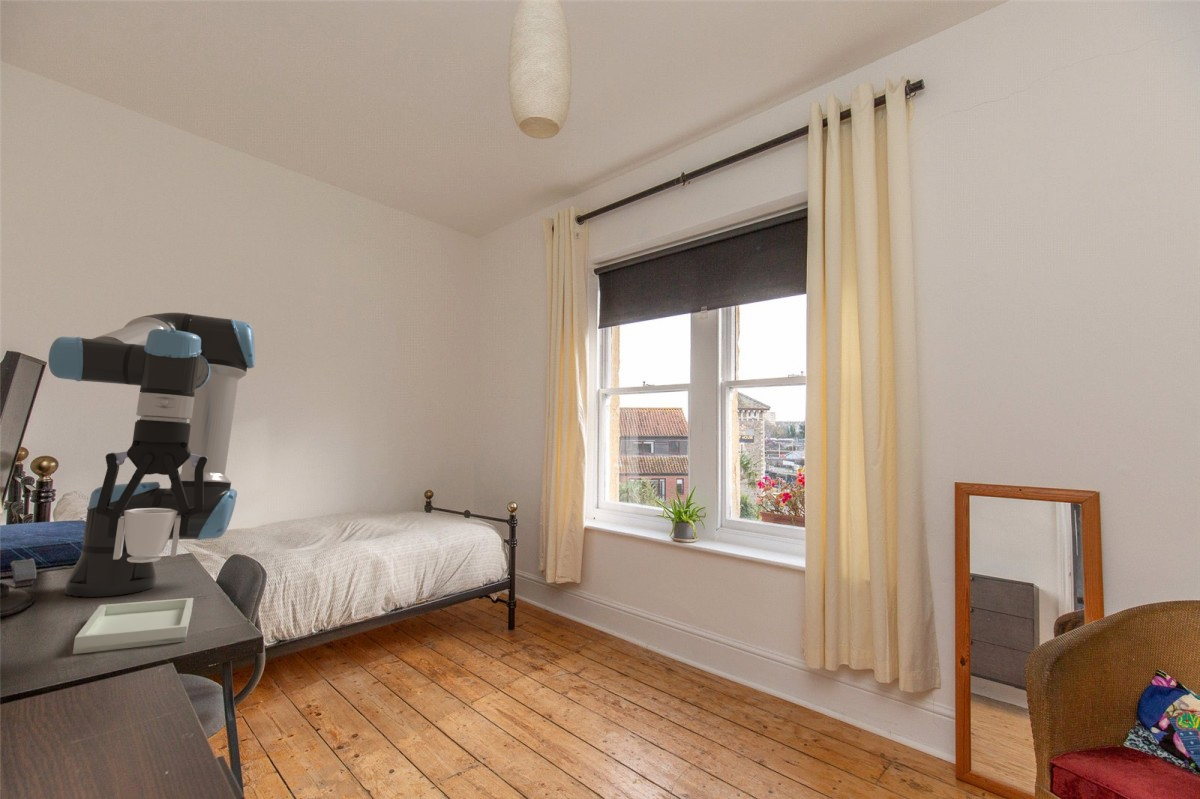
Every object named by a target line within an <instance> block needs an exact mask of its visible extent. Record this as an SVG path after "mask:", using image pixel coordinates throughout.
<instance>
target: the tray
mask: <svg viewBox="0 0 1200 799" xmlns="http://www.w3.org/2000/svg"><path fill="white" fill-rule="evenodd" d="M193 604H194V597H188V598H186V597H185V598H175V599H162V600H150V601H149V600H146V601H135V602H134V601H133V602H124V603H123V602H122V603H120V602H119V603H110V604H100V605H99V606H98V607H97V608H96V610H95V611H94V612H93V614H92V615H91V616H90V618H88V620H87V622H86V623H85V624H84V625H83V627H82V628H81V629H80V631H79V632H78V633H77V634H76V635H75V637H74V642H73V648H72V655H77V654H86V653H93V652H105V651H113V650H122V649H129V648H131V649H132V648H141V647H147V646H157V645H159V646H160V645H167V644H168V645H169V644H175V643H184V642H186V639H187V635H188V630H189V626H190V621H191V617H192V612H193Z"/></svg>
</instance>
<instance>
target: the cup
mask: <svg viewBox="0 0 1200 799" xmlns="http://www.w3.org/2000/svg"><path fill="white" fill-rule="evenodd" d="M177 512H178V511H175V510H173V509H163V508H139V509H131V510H126V511H124V519H125V542H126V548H127V553H128V554H130V555H131V556H132V557H129V558H127V561H129V562H136V563H144V562H153V563H155V562H158V561H160V560H161V559H162V557H161V556H160V554H162V553H164V550H165V548H166V546H167V543H168V542H169V540H168V539H169V536H170V533H171V530H172V527H173V524H174V521H175V518H176V515H177Z"/></svg>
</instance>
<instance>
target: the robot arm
mask: <svg viewBox="0 0 1200 799" xmlns="http://www.w3.org/2000/svg"><path fill="white" fill-rule="evenodd" d="M254 335H255V334H254V328H253V326H252V325H251V324H250V323H248V322H246V321H242V320H235V319H233V318H230V319H229V318H222V317H212V316H207V315H199V314H192V313H191V314H190V313H186V312H163V313H153V314H148V315H143V316H140V317H137V318H134V319H132V320H129V322H127V323H126V324H125V325H124V327H122V328H120V329H116V330H113V331H111V332H108V333H105V334H101V335H99V336H96V337H94V338H85V337H84V338H83V337H81V336H76V337H75V336H74V337H73V336H60V337H57V338H56V339H55V340H54V341H53V342H52V344H51V346H50V347H49V352H48V367H49V368H48V369H49V370H50V373H51V374H52V375H53V376H54V377H55V378H58V379H62V380H63V379H64V380H70V381H71V380H73V381H76V382H91V383H105V384H106V383H107V384H118V385H129V386H131V385H132V386H140V387H139V394H138V401H137V408H136V416H137V417H140V418H139V419H137V420H136V421H135V423H134V428H133V429H134V430H133V437H132V443H131V446H130V447H129V448H128V449H127V450H126V451H120V452H110V453H107V454H106V455H105V461H106V468H107V469H106V472H105V476H104V479H103V484H102V486H99V487H97V488H95V489H94V490H93V491H92V492H91V493H90V494H91V495H90V499H89V504H88V507H87V508H86V510H87V512H86V518H85V526H84V534H83V541H82V547H81V548H82V549H81V554H80V556H79V559H78V560H77V562H76V563H75V565H74V567H73V569H72V571H71V572H70V575H69V576H68V578H67V579H66V582H65V587H64V592H65V593H66V594H69V595H68V596H70V595H73V596H72V597H78V596H81V597H82V596H83V597H82V598H87V597H88V598H96V597H110V596H111V597H112V596H121V595H122V596H123V595H128V594H133V593H138V592H143V591H147V590H150V589H152V588H154V587H155V586H156V582H157V572H156V568H155V564H154V562H144V563H136V562H129V561H127V558H129V557H132V556H131V555H130V554H128V553H127V548H126V542H125V519H124V511H126V510H131V509H139V508H163V509H173V510H175V511H178V512H177V515H176V518H175V521H174V524H173V527H172V530H171V533H170V536H169V539H168V541H169V540H171V549H170V556H169V557H170V558H175V557H177V555H178V550H179V548H178V547H179V542H180V541H179V540H198V541H200V540H201V541H202V540H207V539H218V538H220V537H223V535H224V534H225V533H226V531H227V530H228V528H229V525H230V523H231V519H232V517H233V512H234V509H235V507H236V502H237V501H236V500H237V497H238V496H237V495H238V492H237V490H236V489H234V488H231V486H232V481H231V480H230V479H229V478H228V477H227V476H226V470H227V469H226V468H227V461H228V454H229V448H230V440H231V433H232V426H233V419H234V412H235V404H236V396H237V392H238V390H237V389H238V383H239V380H241V379H242V378H244V377H245V376H246V375H247V370H248V369H253V368H254V367H255V365H256V362H255V361H256V358H255V357H256V348H255V347H256V346H255V345H256V344H255V336H254ZM188 420H189V421H188ZM127 458H128V459H129V460H130V461H131V463H132V464H133V465H134V466H135V468H136V470H135V471H134V473H133V474H132V476H131V478H130V480H129V481H128V483H121V484H116V482H117V478H118V476H119V475H118V474H119V471H120V466H121V465H124V463H125V460H126V459H127ZM180 467H181V471H180V473H179V468H180ZM154 474H155V475H156V474H158V475H162V476H168V478H169V481H170V487H169V488H167V487H165V488H163V487H162V488H161V485H160V482H159V481H145V482H141V481H142V480H143V479H144V477H145V476H146V475H150V476H151V475H154ZM65 593H64V594H65ZM66 594H65V595H66ZM81 597H80V598H81Z"/></svg>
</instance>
